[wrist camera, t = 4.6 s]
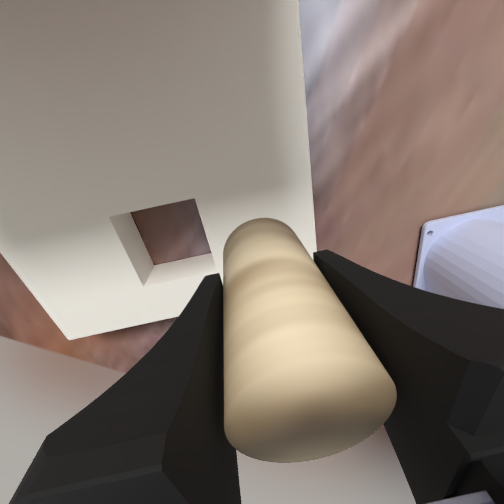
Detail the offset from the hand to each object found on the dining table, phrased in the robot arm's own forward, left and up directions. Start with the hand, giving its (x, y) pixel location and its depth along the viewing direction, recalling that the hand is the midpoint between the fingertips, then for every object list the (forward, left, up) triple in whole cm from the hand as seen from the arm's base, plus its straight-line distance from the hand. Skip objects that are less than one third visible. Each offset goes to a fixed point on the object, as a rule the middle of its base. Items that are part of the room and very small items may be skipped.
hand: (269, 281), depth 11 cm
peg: (0, 0, -2) cm, 2 cm away
